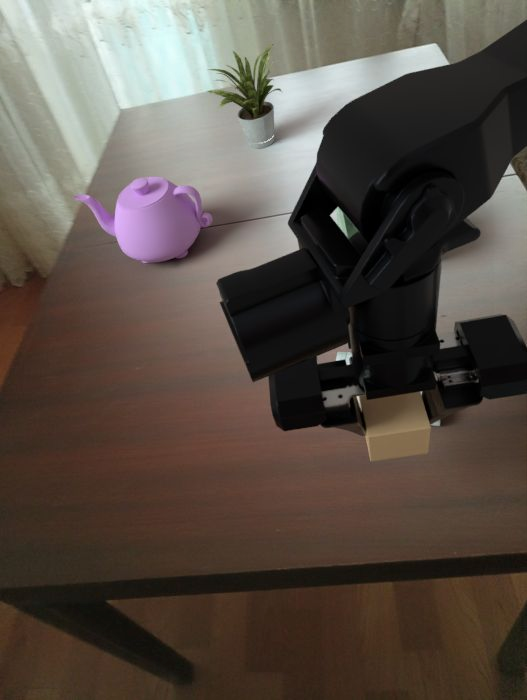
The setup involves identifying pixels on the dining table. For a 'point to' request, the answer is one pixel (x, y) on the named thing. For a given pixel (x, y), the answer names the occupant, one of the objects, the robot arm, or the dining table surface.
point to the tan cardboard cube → (395, 426)
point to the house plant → (252, 100)
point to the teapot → (153, 219)
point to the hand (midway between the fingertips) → (393, 426)
